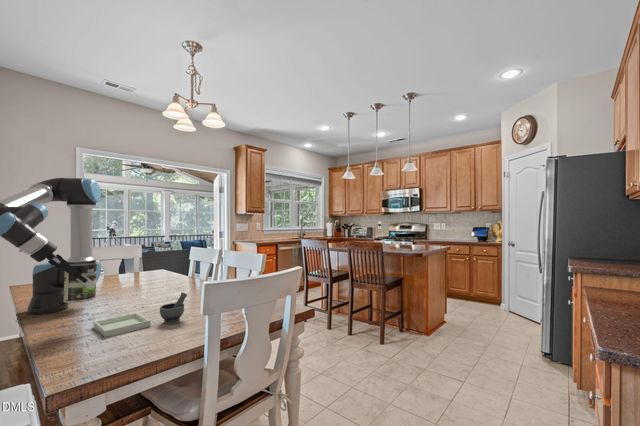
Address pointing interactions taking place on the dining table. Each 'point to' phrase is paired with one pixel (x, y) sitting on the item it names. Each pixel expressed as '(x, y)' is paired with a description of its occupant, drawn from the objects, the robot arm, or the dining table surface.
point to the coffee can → (80, 284)
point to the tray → (121, 324)
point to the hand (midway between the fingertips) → (89, 284)
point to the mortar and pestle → (173, 310)
